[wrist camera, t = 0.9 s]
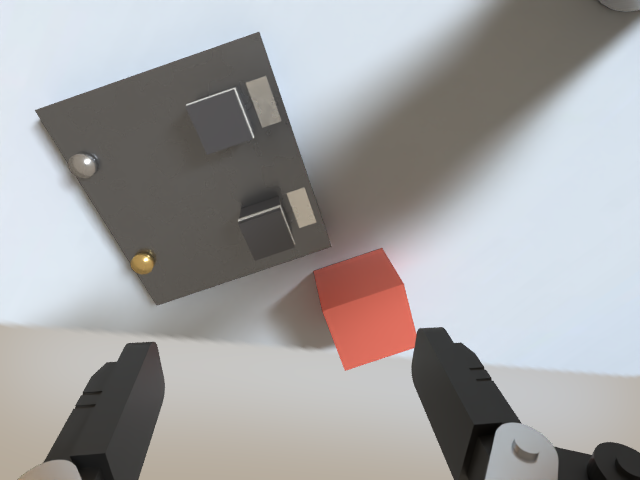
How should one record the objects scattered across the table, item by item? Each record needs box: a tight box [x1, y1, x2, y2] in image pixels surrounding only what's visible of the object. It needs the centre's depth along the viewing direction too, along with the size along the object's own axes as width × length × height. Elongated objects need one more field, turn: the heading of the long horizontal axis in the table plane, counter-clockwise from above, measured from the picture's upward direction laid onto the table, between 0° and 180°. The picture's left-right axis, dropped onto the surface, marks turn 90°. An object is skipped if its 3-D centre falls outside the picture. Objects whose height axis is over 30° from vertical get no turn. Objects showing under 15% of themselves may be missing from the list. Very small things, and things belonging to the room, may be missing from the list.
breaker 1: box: [185, 86, 254, 155], centre depth 25 cm, size 3×3×3 cm
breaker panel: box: [35, 32, 331, 305], centre depth 29 cm, size 15×16×3 cm
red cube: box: [313, 248, 416, 370], centre depth 33 cm, size 6×6×6 cm
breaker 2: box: [238, 196, 295, 261], centre depth 28 cm, size 3×3×3 cm
